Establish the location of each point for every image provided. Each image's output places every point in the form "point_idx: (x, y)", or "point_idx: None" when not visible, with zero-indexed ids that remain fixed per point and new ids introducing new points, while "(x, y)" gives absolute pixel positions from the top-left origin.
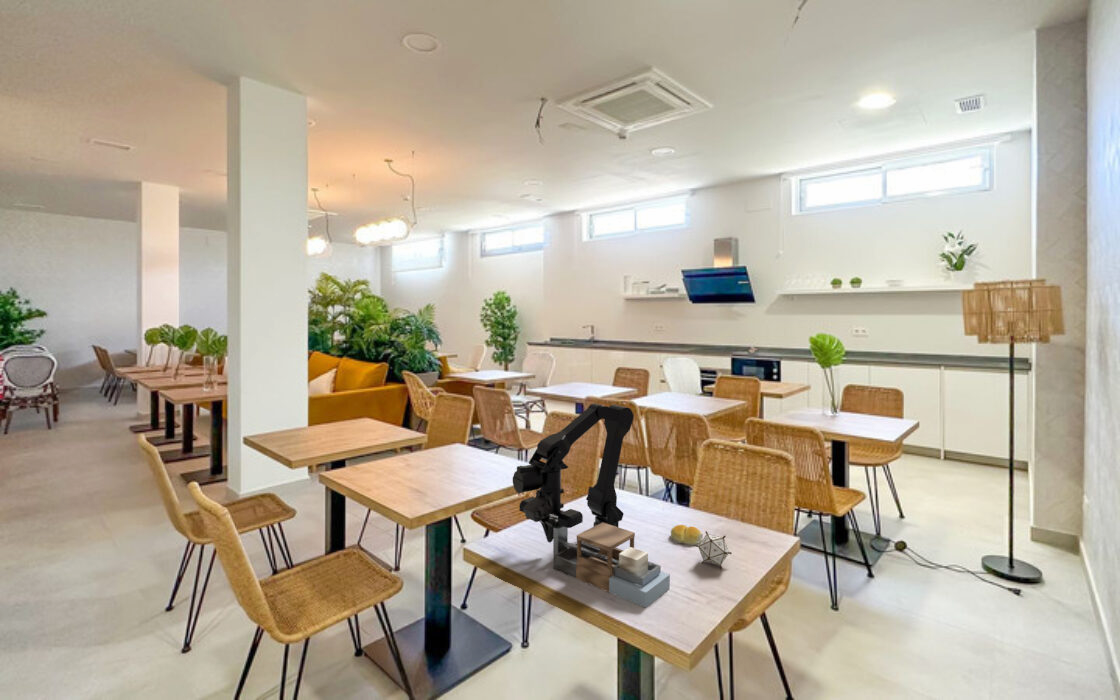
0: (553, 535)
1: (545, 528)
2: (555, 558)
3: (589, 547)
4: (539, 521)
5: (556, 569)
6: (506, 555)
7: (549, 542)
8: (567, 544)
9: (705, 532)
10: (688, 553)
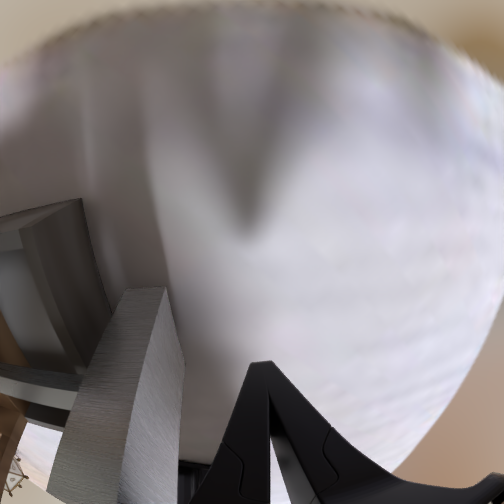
0: (130, 423)
1: (309, 456)
2: (27, 223)
3: None
4: (419, 484)
5: (59, 202)
6: (432, 118)
7: (252, 362)
8: (54, 388)
9: (11, 494)
10: (48, 467)
